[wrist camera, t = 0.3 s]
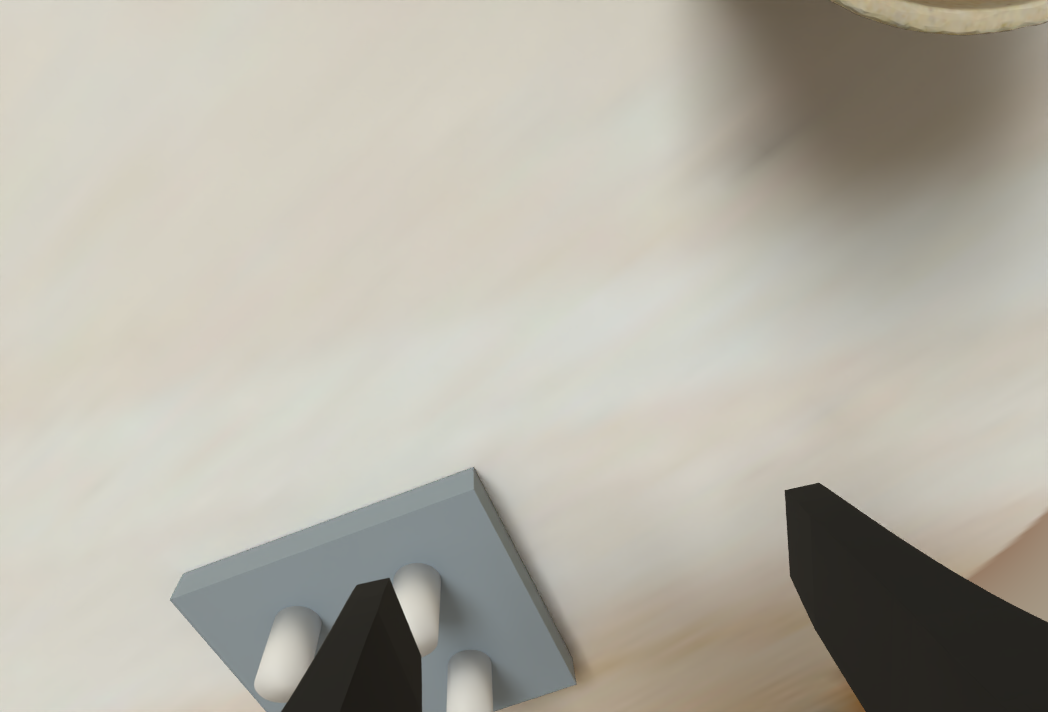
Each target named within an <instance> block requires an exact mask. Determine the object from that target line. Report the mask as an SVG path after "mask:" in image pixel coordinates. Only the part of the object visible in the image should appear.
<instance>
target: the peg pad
mask: <svg viewBox="0 0 1048 712" xmlns="http://www.w3.org/2000/svg"><path fill="white" fill-rule="evenodd" d="M385 578H390V580H391V583H392V585H393V588H394V590H395V593H396V595H397V597H398V600H399V602H400V605H401V607H402V610H403V612H404V615H405V617H406V620H407V622H408V624H409V627H410V629H411V632H412V634H413V637H414V639H415V642H416V644H417V646H418V649H419V651H420V654H421V663H422V712H494V711H497V710H500V709H503V708H506V707H509V706H512V705H515V704H518V703H521V702H524V701H527V700H530V699H533V698H536V697H539V696H543V695H546V694H549V693H552V692H555V691H558V690H561V689H564V688H567V687H570V686H573V685H576V678H575V672H574V666H573V660H572V657H571V655H570V653H569V651H568V649H567V647H566V645H565V643H564V641H563V639H562V638H561V636H560V634H559V632H558V630H557V628H556V626H555V624H554V622H553V620H552V618H551V616H550V614H549V612H548V610H547V609H546V607H545V605H544V603H543V601H542V599H541V597H540V595H539V593H538V591H537V589H536V587H535V585H534V583H533V581H532V580H531V578H530V576H529V574H528V572H527V570H526V568H525V566H524V564H523V562H522V560H521V558H520V556H519V554H518V552H517V551H516V549H515V547H514V545H513V543H512V541H511V539H510V537H509V535H508V533H507V531H506V529H505V527H504V525H503V523H502V522H501V520H500V518H499V516H498V514H497V512H496V510H495V508H494V506H493V504H492V502H491V500H490V498H489V496H488V494H487V493H486V491H485V489H484V487H483V485H482V483H481V481H480V479H479V477H478V475H477V473H476V471H475V469H474V467H473V468H470V469H467V470H465V471H462V472H459V473H457V474H454V475H451V476H448V477H446V478H443V479H440V480H437V481H435V482H432V483H429V484H427V485H424V486H421V487H418V488H416V489H413V490H410V491H408V492H405V493H402V494H399V495H397V496H394V497H391V498H388V499H386V500H383V501H380V502H378V503H375V504H372V505H369V506H367V507H364V508H361V509H358V510H356V511H353V512H350V513H348V514H345V515H342V516H339V517H337V518H334V519H331V520H329V521H326V522H323V523H320V524H318V525H315V526H312V527H309V528H307V529H304V530H301V531H299V532H296V533H293V534H290V535H288V536H285V537H282V538H279V539H277V540H274V541H271V542H269V543H266V544H263V545H260V546H258V547H255V548H252V549H250V550H247V551H244V552H241V553H239V554H236V555H233V556H230V557H228V558H225V559H222V560H220V561H217V562H214V563H211V564H209V565H206V566H203V567H200V568H198V569H195V570H192V571H190V572H187V573H184V574H183V575H182V577H181V579H180V581H179V583H178V585H177V587H176V589H175V591H174V592H173V594H172V596H171V598H170V601H171V602H172V603H173V604H174V605H175V606H176V608H177V609H178V610H179V611H180V612H181V613H182V615H183V616H184V617H185V618H186V619H187V620H188V621H189V623H190V624H191V625H192V626H193V627H194V628H195V630H196V631H197V632H198V633H199V634H200V635H201V637H202V638H203V639H204V640H205V641H206V642H207V644H208V645H209V646H210V647H211V648H212V649H213V650H214V652H215V653H216V654H217V655H218V656H219V657H220V659H221V660H222V661H223V662H224V663H225V664H226V666H227V667H228V668H229V669H230V670H231V671H232V673H233V674H234V675H235V676H236V677H237V678H238V679H239V681H240V682H241V683H242V684H243V685H244V686H245V688H246V689H247V690H248V691H249V692H250V693H251V695H252V696H253V697H254V698H255V699H256V700H257V701H258V703H259V704H260V705H261V706H262V707H263V708H264V710H265V711H266V712H281V711H282V709H283V708H284V706H285V705H286V703H287V702H288V700H289V699H290V697H291V695H292V694H293V692H294V691H295V689H296V687H297V686H298V684H299V682H300V681H301V679H302V677H303V676H304V674H305V672H306V671H307V669H308V667H309V666H310V664H311V662H312V661H313V659H314V658H315V656H316V654H317V652H318V651H319V649H320V647H321V646H322V644H323V642H324V640H325V639H326V637H327V635H328V633H329V632H330V630H331V628H332V626H333V625H334V623H335V621H336V619H337V617H338V616H339V614H340V612H341V610H342V609H343V607H344V605H345V603H346V601H347V600H348V598H349V596H350V595H351V593H352V591H353V590H354V588H355V587H356V585H358V584H362V583H367V582H371V581H376V580H380V579H385Z"/></svg>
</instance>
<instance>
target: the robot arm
mask: <svg viewBox="0 0 1048 712" xmlns="http://www.w3.org/2000/svg"><path fill="white" fill-rule="evenodd" d="M785 500H786V517H787V533H788V549H789V565H790V577H791V579H792V581H793V583H794V586H795V588H796V590H797V592H798V594H799V596H800V599H801V601H802V603H803V605H804V607H805V609H806V611H807V614H808V616H809V618H810V620H811V622H812V624H813V626H814V628H815V630H816V632H817V633H818V635H819V637H820V638H821V640H822V642H823V643H824V645H825V646H826V648H827V650H828V651H829V653H830V655H831V656H832V658H833V659H834V661H835V663H836V664H837V666H838V668H839V669H840V671H841V673H842V674H843V676H844V677H845V679H846V681H847V682H848V684H849V685H850V687H851V689H852V690H853V692H854V693H855V695H856V697H857V698H858V700H859V701H860V703H861V705H862V706H863V708H864V709H865V711H866V712H1048V622H1046V621H1044V620H1042V619H1040V618H1038V617H1036V616H1034V615H1032V614H1029V613H1028V612H1026V611H1024V610H1022V609H1020V608H1018V607H1016V606H1014V605H1012V604H1010V603H1008V602H1006V601H1004V600H1002V599H1000V598H999V597H997V596H995V595H993V594H991V593H990V592H988V591H986V590H984V589H983V588H981V587H979V586H977V585H975V584H974V583H972V582H970V581H969V580H967V579H965V578H963V577H962V576H960V575H958V574H956V573H955V572H953V571H951V570H950V569H948V568H946V567H945V566H943V565H942V564H940V563H938V562H937V561H935V560H933V559H932V558H930V557H929V556H927V555H926V554H924V553H923V552H921V551H919V550H918V549H916V548H915V547H913V546H912V545H910V544H908V543H907V542H905V541H904V540H902V539H901V538H899V537H898V536H896V535H895V534H893V533H892V532H890V531H889V530H887V529H886V528H884V527H883V526H881V525H880V524H878V523H877V522H875V521H874V520H872V519H871V518H870V517H868V516H867V515H865V514H864V513H862V512H861V511H859V510H858V509H857V508H855V507H854V506H852V505H851V504H849V503H848V502H846V501H845V500H844V499H842V498H841V497H839V496H838V495H836V494H835V493H834V492H832V491H831V490H829V489H828V488H826V487H825V486H823V485H822V484H820V483H816V484H811V485H807V486H802V487H798V488H793V489H789V490H785ZM281 712H422V663H421V654H420V651H419V649H418V646H417V644H416V642H415V639H414V637H413V634H412V632H411V629H410V627H409V624H408V622H407V620H406V617H405V615H404V612H403V610H402V607H401V605H400V602H399V600H398V597H397V595H396V593H395V590H394V588H393V585H392V583H391V580H390V578H385V579H380V580H376V581H371V582H367V583H362V584H358V585H356V587H355V588H354V590H353V591H352V593H351V595H350V596H349V598H348V600H347V601H346V603H345V605H344V607H343V609H342V610H341V612H340V614H339V616H338V617H337V619H336V621H335V623H334V625H333V626H332V628H331V630H330V632H329V633H328V635H327V637H326V639H325V640H324V642H323V644H322V646H321V647H320V649H319V651H318V652H317V654H316V656H315V658H314V659H313V661H312V662H311V664H310V666H309V667H308V669H307V671H306V672H305V674H304V676H303V677H302V679H301V681H300V682H299V684H298V686H297V687H296V689H295V691H294V692H293V694H292V695H291V697H290V699H289V700H288V702H287V703H286V705H285V706H284V708H283V709H282V711H281Z"/></svg>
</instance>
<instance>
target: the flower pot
mask: <svg viewBox="0 0 1048 712" xmlns="http://www.w3.org/2000/svg"><path fill="white" fill-rule="evenodd" d="M830 1H832V2H834V3H836V4H838V5H840V6H841V7H843V8H845V9H847V10H849V11H851V12H853V13H855V14H857V15H860V16H862V17H865V18H868V19H871V20H874V21H877V22H880V23H884V24H887V25H890V26H894V27H897V28H902V29H907V30H913V31H919V32H925V33H937V34H949V35H974V34H986V33H995V32H1003V31H1010V30H1014V29H1018V28H1022V27H1027V26H1036V25H1039V24H1042V23H1046V22H1048V0H830Z"/></svg>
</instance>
